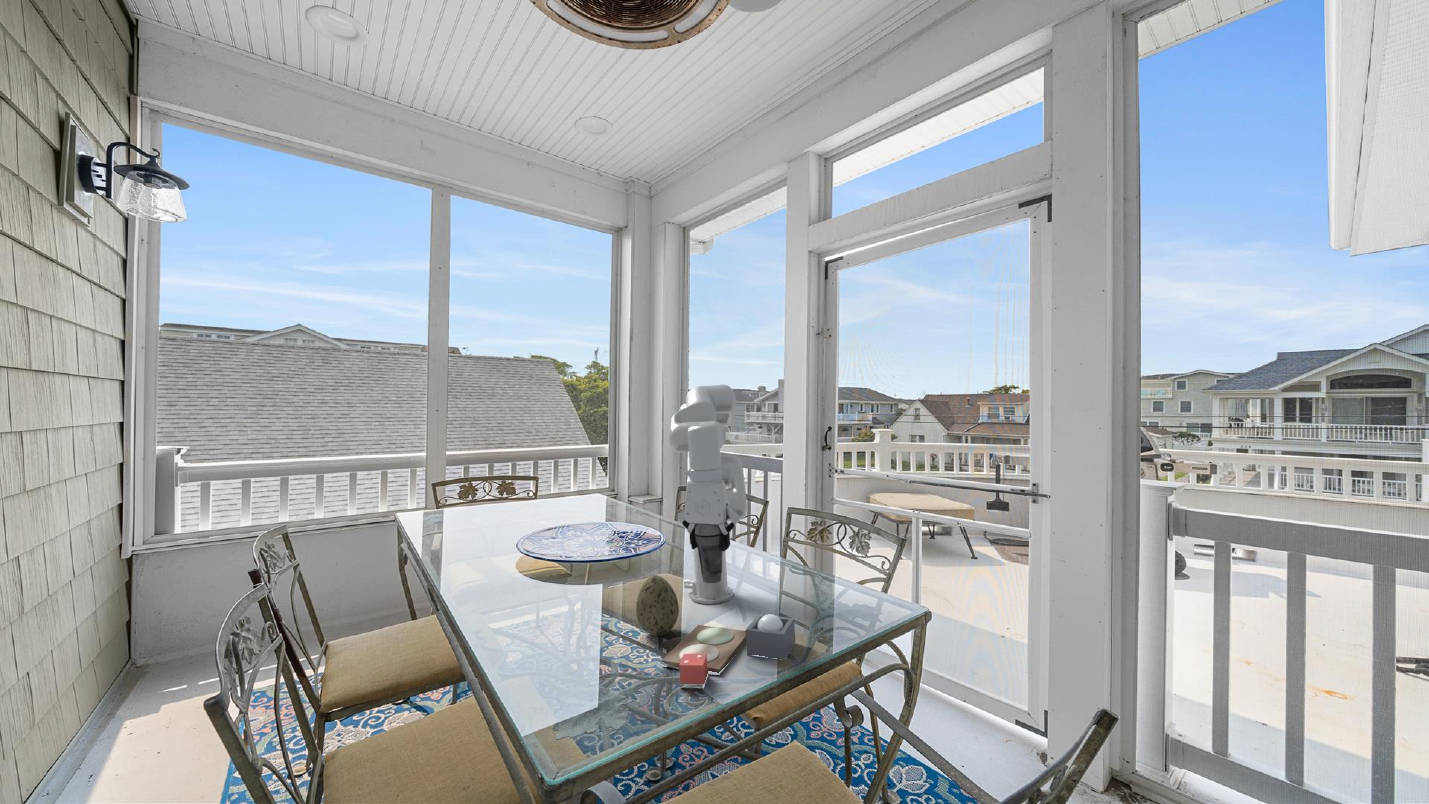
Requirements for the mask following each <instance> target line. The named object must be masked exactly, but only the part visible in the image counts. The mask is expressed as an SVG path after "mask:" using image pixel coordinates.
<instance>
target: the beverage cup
mask: <svg viewBox="0 0 1429 804" xmlns="http://www.w3.org/2000/svg"><path fill="white" fill-rule="evenodd" d="M694 535H695V538H696V542H697V546H698V553H699V560H700V567H701V574H702V578H703V582H705V583H717V582H720V581H721V575H722V550H721V535H722V531H721V529H720V527H719V526H718V525H708V524H697V525H696V527H695V534H694Z"/></svg>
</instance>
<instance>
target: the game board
mask: <svg viewBox="0 0 1429 804" xmlns="http://www.w3.org/2000/svg"><path fill="white" fill-rule="evenodd" d="M745 644H746V630H743V629H742V630H741V629H734V628H725V627H718V626H711V625H710V626H709V625H701V624H697V625H696V626H695V627H694V628H693V630H691V631H690V632H689V633H688V634H687V635H686V636H685V637H684V638H683V639H682V640H681V641H680V642H679V643H678V644H677V645H676V646H675V647H673V649H672V650H671V651H670V652H669V653H668V654H667V655H666V656H664V657H663V658H662V659H661V663H662V662H664V663H665V664H669V665H672V666H674V667H679V664H680V662H681V660H682V657H683V655H684V654H707V667H708V671H712V672H717V673H719V672H720V671H721V670H722V669H723V668H724V667H725V666H726V665H727V664H728V663H729V662H730V661H731V660H732V661H733V659H734V658H735V657H736V656H737V654H738V653H739V652H740V651H741V649H743V647H744V646H745ZM735 655H736V656H735ZM732 658H733V659H732ZM732 661H731V662H732ZM731 662H730V663H731ZM730 663H729V664H730Z"/></svg>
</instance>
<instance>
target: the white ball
mask: <svg viewBox="0 0 1429 804" xmlns="http://www.w3.org/2000/svg"><path fill="white" fill-rule="evenodd" d="M764 615H765V616H763V617H762V618H761V619H760V620H759V622H758V629H760V630H768V631H776V632H781V630H782V629H783V624H782V621H781V620H780V619H779V618H778V617H779V616H778V615H775V614H773V613H772V614H771V613H769V614H764Z"/></svg>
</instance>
